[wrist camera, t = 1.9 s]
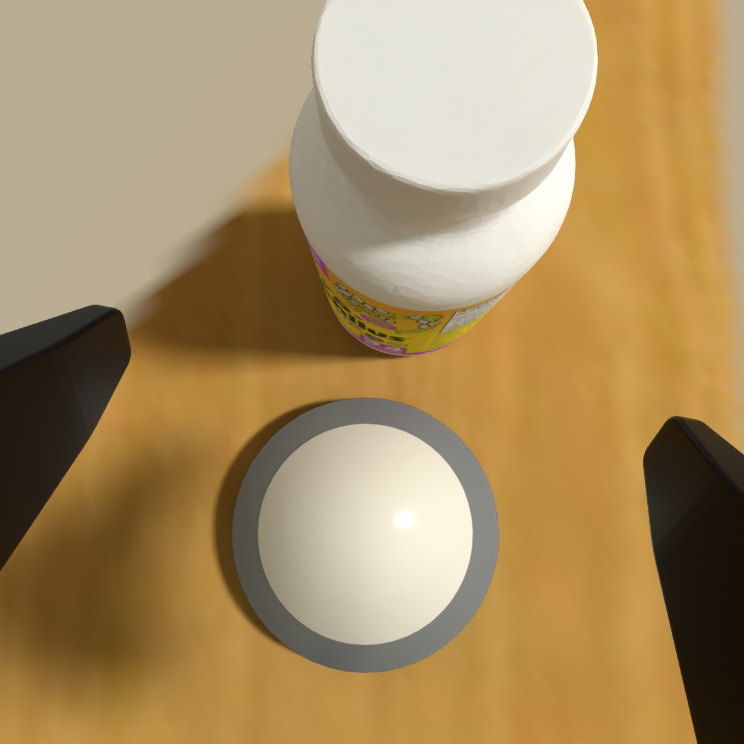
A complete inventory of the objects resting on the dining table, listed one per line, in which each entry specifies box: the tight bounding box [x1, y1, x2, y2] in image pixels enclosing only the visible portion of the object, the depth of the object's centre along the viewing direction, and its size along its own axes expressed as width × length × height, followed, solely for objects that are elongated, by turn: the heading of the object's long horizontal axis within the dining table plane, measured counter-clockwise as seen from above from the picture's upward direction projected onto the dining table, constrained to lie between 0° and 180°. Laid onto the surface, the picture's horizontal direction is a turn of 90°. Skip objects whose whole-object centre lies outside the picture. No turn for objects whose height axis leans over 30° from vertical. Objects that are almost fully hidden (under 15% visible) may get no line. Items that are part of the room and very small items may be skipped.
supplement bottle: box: [289, 0, 598, 356], centre depth 14 cm, size 7×7×13 cm
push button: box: [232, 398, 499, 673], centre depth 19 cm, size 10×10×1 cm
